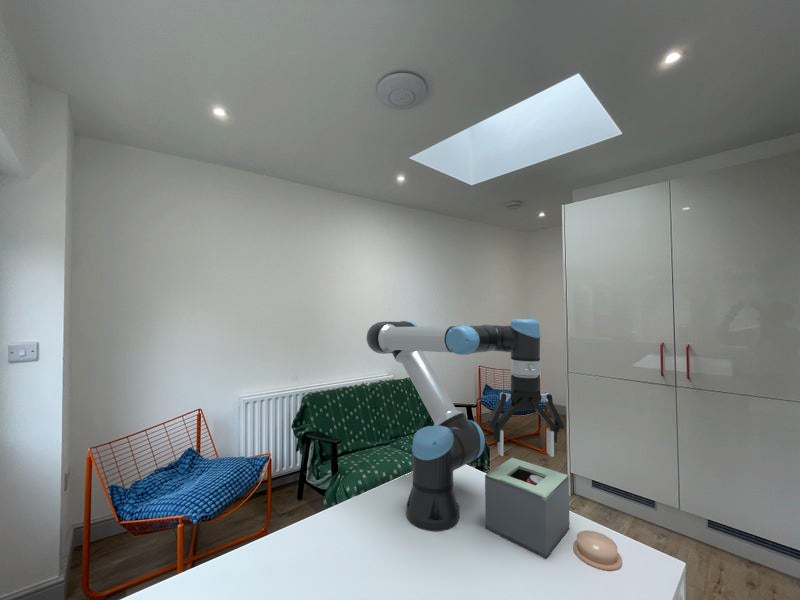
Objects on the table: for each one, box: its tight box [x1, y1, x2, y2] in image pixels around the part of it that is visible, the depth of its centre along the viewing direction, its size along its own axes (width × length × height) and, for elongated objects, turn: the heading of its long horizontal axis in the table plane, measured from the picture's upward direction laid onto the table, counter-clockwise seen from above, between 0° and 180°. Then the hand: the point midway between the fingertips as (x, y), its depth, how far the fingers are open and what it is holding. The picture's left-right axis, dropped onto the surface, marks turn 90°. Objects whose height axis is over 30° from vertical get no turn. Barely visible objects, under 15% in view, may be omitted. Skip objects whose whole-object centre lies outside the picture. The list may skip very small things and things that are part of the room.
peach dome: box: [572, 530, 623, 572], centre depth 80 cm, size 10×10×3 cm
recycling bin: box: [484, 457, 570, 560], centre depth 90 cm, size 16×16×14 cm
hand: (525, 454), depth 91 cm, fingers open, 13 cm apart
